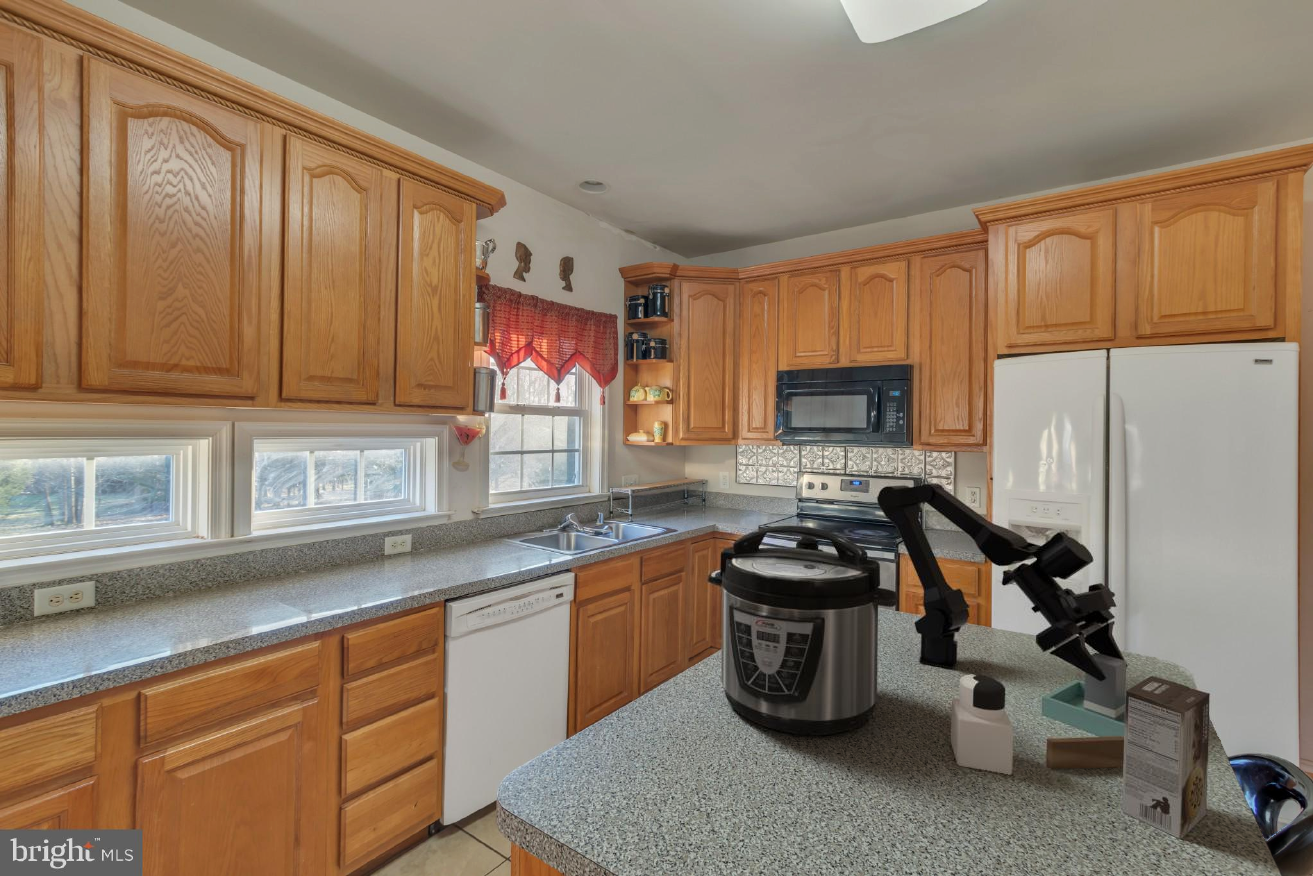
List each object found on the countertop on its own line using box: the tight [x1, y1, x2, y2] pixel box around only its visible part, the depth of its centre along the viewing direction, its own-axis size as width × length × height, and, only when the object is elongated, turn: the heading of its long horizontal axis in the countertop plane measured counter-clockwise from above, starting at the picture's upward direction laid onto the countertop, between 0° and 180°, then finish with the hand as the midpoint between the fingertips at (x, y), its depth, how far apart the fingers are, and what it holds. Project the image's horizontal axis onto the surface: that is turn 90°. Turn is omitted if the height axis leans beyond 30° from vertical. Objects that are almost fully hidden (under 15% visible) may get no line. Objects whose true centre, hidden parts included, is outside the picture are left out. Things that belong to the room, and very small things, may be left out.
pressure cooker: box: [706, 525, 899, 736], centre depth 106 cm, size 30×28×32 cm
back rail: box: [1045, 736, 1124, 770], centre depth 88 cm, size 1×12×4 cm, turn 96°
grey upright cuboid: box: [1084, 652, 1127, 722], centre depth 102 cm, size 4×4×10 cm
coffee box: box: [1121, 675, 1211, 840], centre depth 77 cm, size 9×6×16 cm
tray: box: [1041, 679, 1126, 737], centre depth 102 cm, size 14×14×3 cm
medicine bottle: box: [950, 673, 1014, 776], centre depth 89 cm, size 7×7×12 cm
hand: (1114, 673), depth 101 cm, fingers open, 9 cm apart
